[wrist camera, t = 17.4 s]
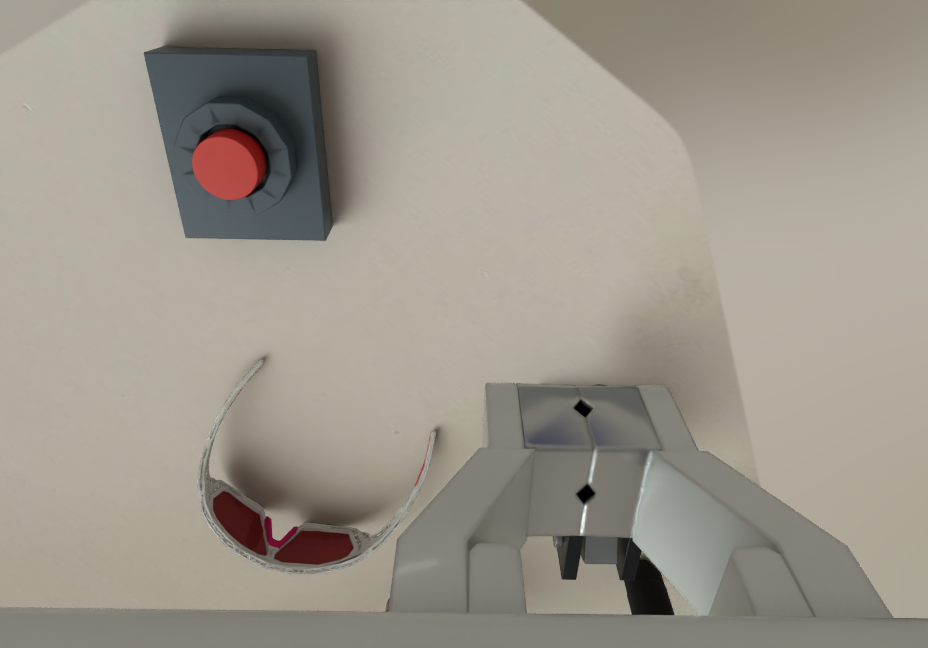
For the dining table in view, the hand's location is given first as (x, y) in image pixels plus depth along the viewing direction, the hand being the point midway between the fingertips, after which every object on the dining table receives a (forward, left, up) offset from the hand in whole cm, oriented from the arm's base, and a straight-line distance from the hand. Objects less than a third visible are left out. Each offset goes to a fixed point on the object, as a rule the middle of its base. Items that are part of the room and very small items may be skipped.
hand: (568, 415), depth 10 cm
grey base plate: (+4, -15, -31) cm, 35 cm away
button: (+4, -15, -27) cm, 32 cm away
